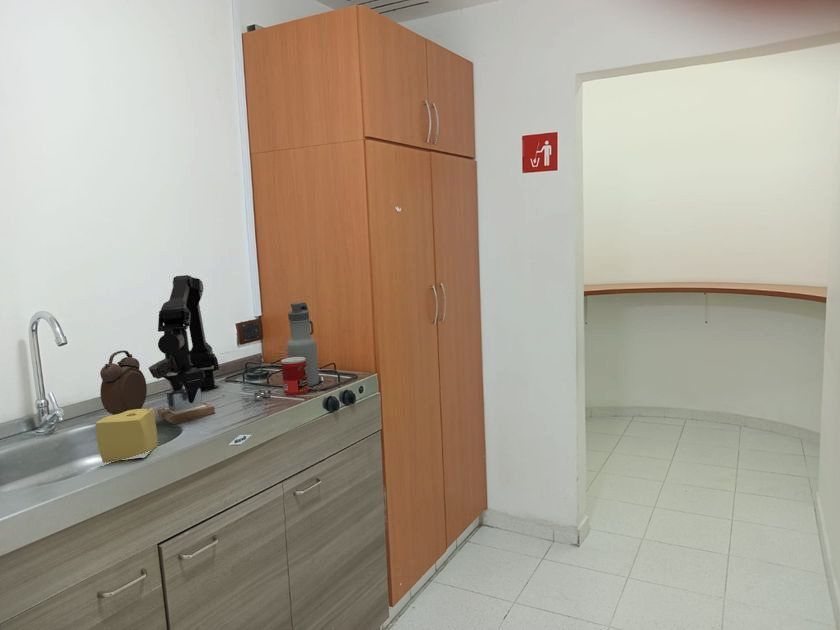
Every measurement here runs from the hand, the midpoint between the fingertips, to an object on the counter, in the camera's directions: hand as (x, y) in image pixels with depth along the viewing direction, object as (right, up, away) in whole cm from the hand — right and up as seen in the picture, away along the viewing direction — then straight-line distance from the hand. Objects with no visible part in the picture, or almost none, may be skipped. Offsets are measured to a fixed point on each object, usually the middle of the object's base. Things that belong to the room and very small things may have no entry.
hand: (184, 400), depth 181 cm
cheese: (-1, -9, -31) cm, 32 cm away
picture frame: (0, -4, +1) cm, 4 cm away
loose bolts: (+18, -1, +16) cm, 24 cm away
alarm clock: (-19, -6, +3) cm, 20 cm away
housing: (0, -2, 0) cm, 2 cm away
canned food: (+29, 0, +19) cm, 35 cm away
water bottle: (+30, +1, +30) cm, 42 cm away
